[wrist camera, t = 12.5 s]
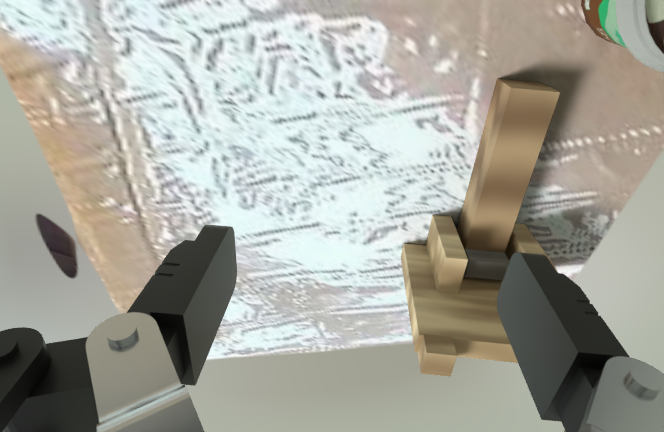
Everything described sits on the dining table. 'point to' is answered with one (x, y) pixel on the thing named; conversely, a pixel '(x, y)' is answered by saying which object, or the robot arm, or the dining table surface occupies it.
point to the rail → (503, 172)
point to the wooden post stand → (455, 299)
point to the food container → (630, 27)
